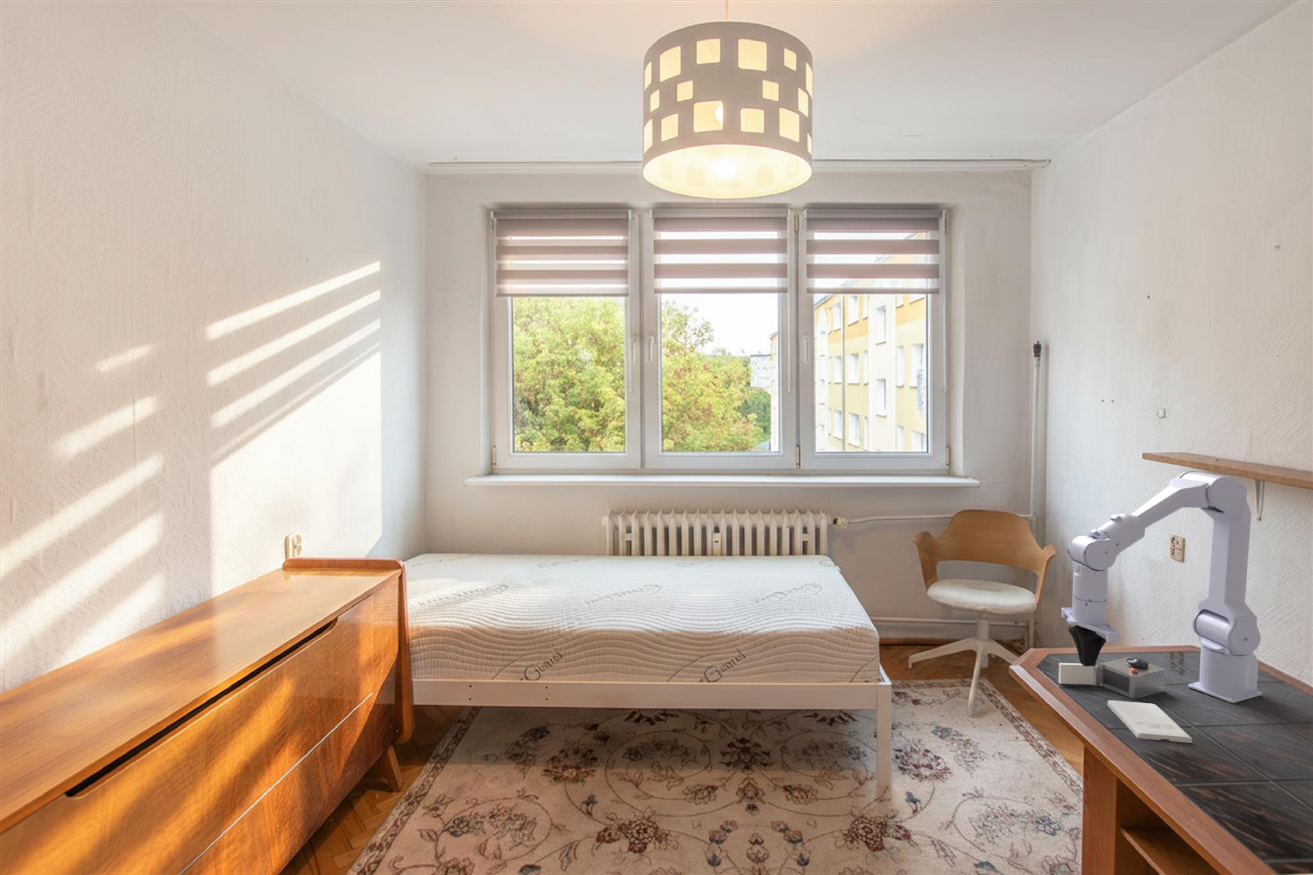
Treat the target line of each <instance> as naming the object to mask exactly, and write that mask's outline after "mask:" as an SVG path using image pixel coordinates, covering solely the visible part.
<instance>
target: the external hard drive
mask: <svg viewBox="0 0 1313 875" xmlns="http://www.w3.org/2000/svg"><path fill="white" fill-rule="evenodd" d="M1107 707H1108V708H1109V709H1110V710H1111V711H1112V712H1113V713H1114V715H1116V716H1117V718H1118V719H1119V720H1120V721H1122V723H1123V724H1124V725H1125V726H1126V727H1127V728H1128V729H1129V730H1130V731H1131V732H1132V734H1133V735H1135V737H1136V738H1137V739H1143V740H1155V741H1168V740H1169V741H1168V742H1174V743H1176V742H1177V743H1187V744H1192V743H1193V738H1192V737H1191V736H1190V735H1189V734H1188V733H1187V732H1186V731H1185V730H1184V729H1183V728H1182V727H1180V726H1179V725H1178V723H1176V722H1175V721H1174V720H1173V719H1172V718H1171V717H1169V716H1168V714H1166V713H1165V711H1163V710H1162V708H1160V707H1159V706H1158V705H1157V704H1156V703H1155V704H1154V703H1149V702H1148V703H1146V702H1136V701H1135V702H1134V701H1125V700H1124V701H1123V700H1107Z"/></svg>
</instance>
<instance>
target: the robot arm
mask: <svg viewBox="0 0 1313 875" xmlns="http://www.w3.org/2000/svg"><path fill="white" fill-rule="evenodd" d="M1247 494H1248V487H1247V486H1246V485H1244V484H1243V483H1242V482H1241V481H1239V479H1237V478H1235V477H1232V476H1230V475H1220V474H1213V473H1206V472H1200V471H1197V470H1186V471H1184V472H1182V473H1181V474H1179V475H1178V476H1176V477H1174V478H1172V479H1171V480H1169V483H1168V485H1167V487H1165V488H1163V490H1161V491H1160V492H1159V493H1158V494H1156V495H1155V496H1153V497H1152V498H1151V499H1150V500H1148V501H1147V502H1145V503H1144V504H1143V505H1142V506H1140V507H1138V508H1137V509H1136V510H1134V511H1133V512H1132V513H1130V514H1129V513H1119V514H1112V515H1111V516H1110V517H1109V519H1110V520H1108V521H1107V522H1106V523H1104V524H1102V525H1101V526H1099V527H1097V528H1096V529H1094V528H1093V529H1091V530H1090V531H1089V534H1088V535H1086V534H1085V535H1084V534H1083V535H1082V534H1081V535H1079V536H1077V537H1075V538H1074V539H1073V540H1072V541H1071V542H1070V544H1069V547H1067V548H1066V554H1067V556H1068V558H1069V559H1070V560H1071V562H1072V565H1071V566H1072V568H1071V569H1072V599H1071V600H1072V602H1071V603H1072V604H1071V606H1072V607H1061V611H1060V612H1061V614H1060V616H1061V617H1062V618H1063V619H1066V622H1067V624H1070V625H1072V626H1069V627H1068V632H1069V634H1070V635H1071V637H1072V639H1073V641H1074V644H1075V648H1076V651H1077V655H1078V659H1079V662H1080V663H1081V664H1082V665H1084V666H1094V667H1096V665H1097V661H1098V658H1099V656H1100V652H1101V650H1102V648H1103V647H1104V645H1105V644H1106V643H1117V644H1118V643H1120V632H1119V631H1118V630H1116V629H1114V627H1113V626H1112V625H1111V624H1110V623H1109V621H1107V609H1108V605H1107V604H1108V577H1109V576H1108V575H1109V574H1108V573H1109V568H1111V567H1112V566H1113V565H1114V564H1115V562H1116V560H1117V557H1118V556H1119V555H1120V554H1121V553H1122V552H1123V551H1125V550H1126V549H1128V548H1129V547H1131V546H1133V545H1134V544H1136V543H1137V542H1139V541H1140V540H1142V539H1143V538H1145V535H1146V534H1145V533H1146V529H1147V528H1148V527H1150V526H1152V525H1155V523H1157V522H1159V521H1161V520H1163V519H1164V518H1166V517H1168V516H1169V515H1171V514H1173V513H1175V512H1177V511H1179V510H1180V509H1183V508H1193V509H1195V508H1197V509H1199V508H1200V510H1201V511H1203V512H1204V513H1205V514H1206V515H1208V516H1209V517H1210V518H1212V521H1213V526H1212V537H1211V538H1212V541H1211V555H1210V568H1209V583H1208V596H1207V597H1205V598H1203V599H1202V600H1200V601H1199V602H1198V603H1197V611H1196V613H1195V614H1194V616H1193V618H1192V621H1191V625H1192V626H1191V627H1192V630H1193V631H1194V633H1195V634H1196V635H1197V636H1198V642H1200V657H1199V658H1200V659H1199V662H1200V663H1199V681H1196V682H1191V683H1188V686H1187V687H1188V688H1191V689H1193V690H1196V691H1199V692H1202V693H1204V694H1207V695H1209V696H1212V697H1215V698H1218V699H1221V700H1223V701H1226V702H1228V703H1232V704H1235V703H1238V702H1242V701H1245V700H1249V699H1253V698H1256V697H1260V696H1263V692H1261V691H1260V690H1257V689H1258V688H1257V687H1258V675H1259V674H1258V673H1259V661H1258V658H1257V656H1256V654H1255V653H1254V651H1256V650H1257V649H1258V647H1259V645H1260V644H1261V641H1262V640H1261V638H1262V637H1261V636H1262V635H1261V632H1260V630H1259V627H1258V617H1257V616H1256V614H1255V613H1254V612H1253V611H1252V609H1250V607H1249V606H1248V605H1247V603H1246V592H1247V591H1246V588H1247V577H1248V564H1249V563H1248V562H1249V551H1250V549H1249V548H1250V537H1251V536H1250V535H1251V523H1252V522H1251V521H1252V511H1251V508H1250V506H1249V503H1248V501H1247V498H1248V497H1247Z"/></svg>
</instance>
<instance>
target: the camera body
mask: <svg viewBox="0 0 1313 875" xmlns="http://www.w3.org/2000/svg"><path fill="white" fill-rule="evenodd" d="M1099 665H1100V666H1101V672H1100V686H1101V687H1103V686H1104V688H1106V689H1108V690H1111V691H1113V692H1115V693H1118V694H1120V695H1122V696H1125V697H1128V698H1130V699H1132V700H1136V699H1141V698H1144V697H1148V696H1152V695H1155V694H1160V693H1164V692H1165V690H1166V689H1165V688H1166V674H1167V672H1166V669H1165V668H1162V667H1159V666H1158V665H1155V664H1152V663H1150V662H1149V661H1147V660H1145V659H1142V658H1138V657H1132V656H1126V657H1121V658H1118V659H1112V660H1109V661H1102V662H1100V663H1099Z"/></svg>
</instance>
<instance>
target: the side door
mask: <svg viewBox="0 0 1313 875" xmlns="http://www.w3.org/2000/svg"><path fill="white" fill-rule="evenodd" d="M1094 671H1095V673H1094ZM1100 672H1101V666H1100V664H1095V666H1084V665H1082V664H1081V663H1076V662H1075V663H1074V662H1073V663H1071V662H1065V663H1064V662H1059V664H1058V683H1059V684H1062V685H1063V684H1065V685H1095V686H1101V685H1100ZM1094 677H1095V679H1094ZM1094 680H1095V684H1094Z"/></svg>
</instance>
